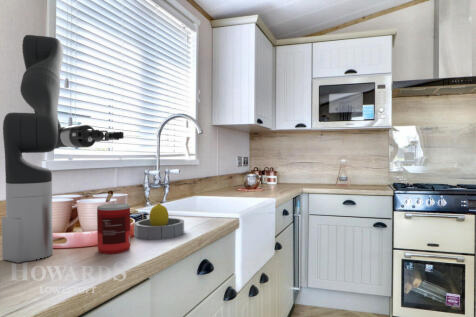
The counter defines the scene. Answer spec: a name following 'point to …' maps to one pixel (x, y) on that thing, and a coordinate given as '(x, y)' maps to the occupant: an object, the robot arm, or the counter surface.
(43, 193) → the robot arm
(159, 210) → the lemon
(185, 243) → the counter surface
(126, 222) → the canned food
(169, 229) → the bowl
